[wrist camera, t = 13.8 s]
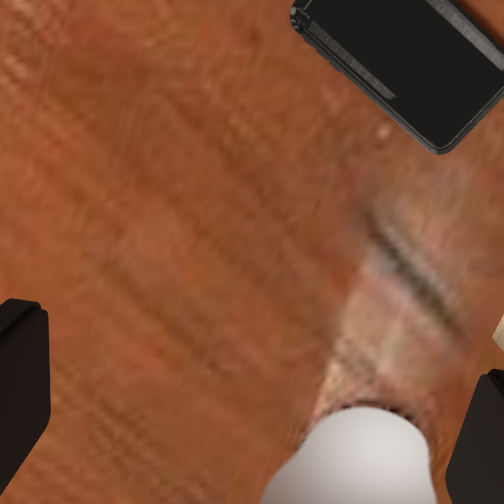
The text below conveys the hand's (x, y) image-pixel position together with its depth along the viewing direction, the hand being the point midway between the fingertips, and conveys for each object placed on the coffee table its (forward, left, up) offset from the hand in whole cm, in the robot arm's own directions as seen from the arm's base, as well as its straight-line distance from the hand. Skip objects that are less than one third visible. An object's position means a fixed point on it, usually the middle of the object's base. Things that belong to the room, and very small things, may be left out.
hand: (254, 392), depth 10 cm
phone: (-10, +7, -28) cm, 31 cm away
